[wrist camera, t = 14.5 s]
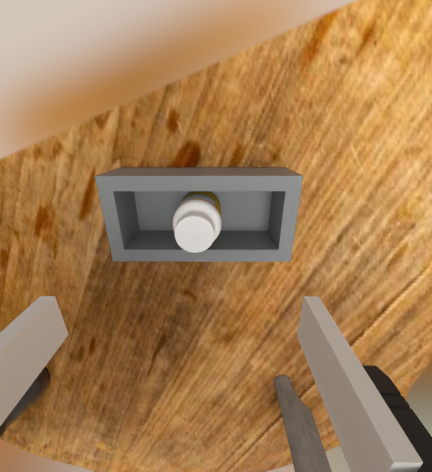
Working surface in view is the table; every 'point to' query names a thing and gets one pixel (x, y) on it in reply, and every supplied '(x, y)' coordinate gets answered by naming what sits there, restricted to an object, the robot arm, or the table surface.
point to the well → (232, 212)
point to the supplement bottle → (197, 221)
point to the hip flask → (300, 430)
